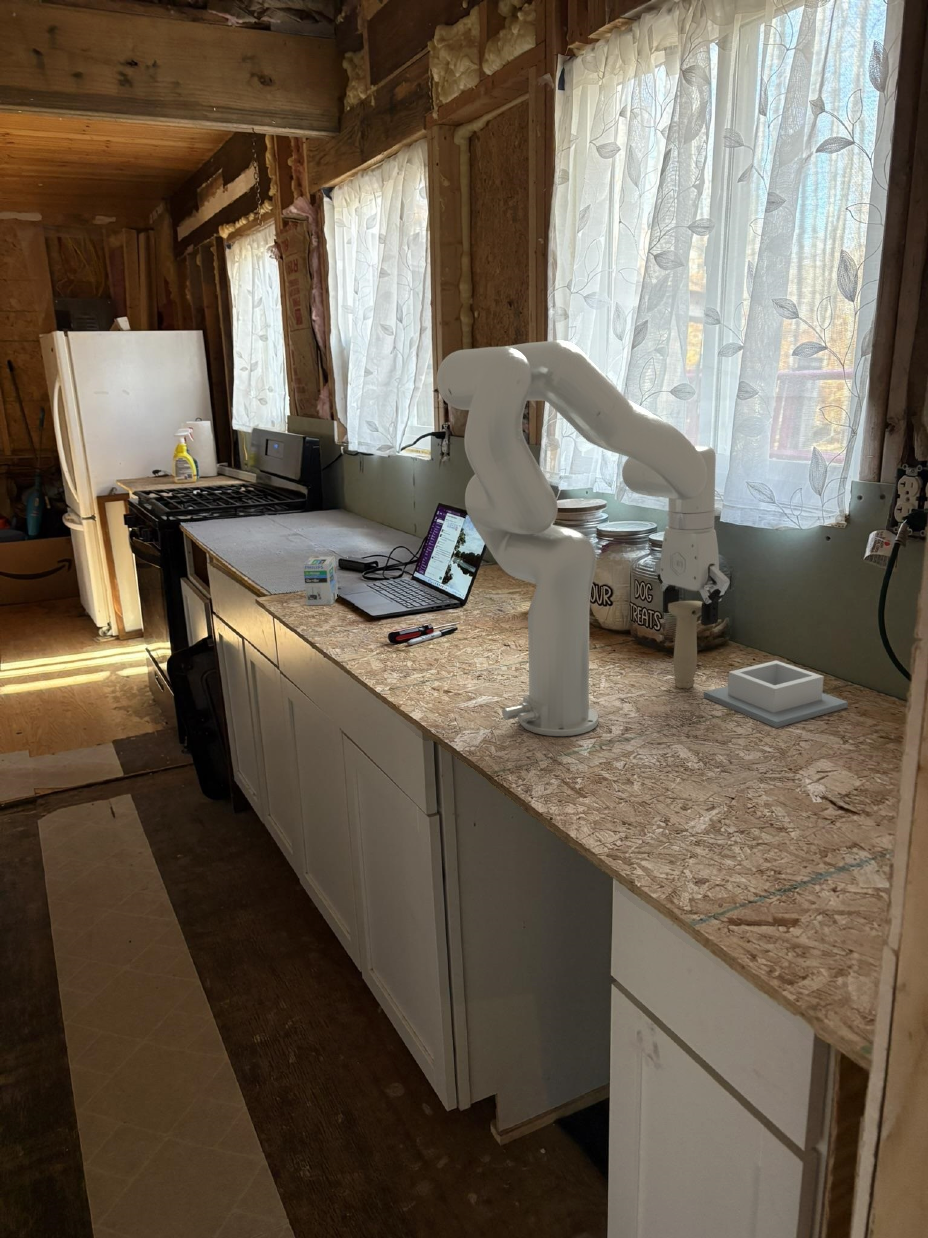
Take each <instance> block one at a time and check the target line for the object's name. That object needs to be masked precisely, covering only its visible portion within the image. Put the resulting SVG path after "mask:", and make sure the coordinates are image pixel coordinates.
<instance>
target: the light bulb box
mask: <svg viewBox="0 0 928 1238" xmlns="http://www.w3.org/2000/svg"><path fill="white" fill-rule="evenodd" d="M337 574H338V573H337V562H336V556H335V555H332V556H325V555H324V556H322V555H321V556H314V555H313V556H309V558H308V559H307V560H306V561H305V562H304V563H303V576H304V578H303V579H304V587H305V589H304V590H305V601H306V606H332V605H333V604H334V603H335V601H336V599H337V598H338V597H337V594H338V595H339V588H338V587H339V586H338V577H337V576H338V575H337Z"/></svg>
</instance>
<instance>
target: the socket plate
mask: <svg viewBox="0 0 928 1238" xmlns="http://www.w3.org/2000/svg"><path fill="white" fill-rule="evenodd" d="M824 677H825V676H824V675H820V674H819V673H818V674H817V673H815V672H812V671H809V670H806V669H803V668H799V667H797V666H794V665H792V664H788V663H786V662H782V661H779V660H773V661H768V662H764V663H760V664H755V665H751V666H748V667H744V668H740V669H735V670H731V671H728V679H727V682H728V684H727V685H726V686H722V687H718V688H714V689H710V690H705V691H704V692H703V698H704V699H707V700H709V701H710V702H713V703H716V704H718V705H721V706H724V707H726V708H727V709H729V710H730V709H731V710H733V711H734V712H735V711H736V712H737V713H740V714H743V715H744V716H747V717H750V718H752V719H754V720H757V721H759V722H761V723H764V724H765V725H768V726H771V727H773V728H776V729H778V728H780V727H784V726H787V725H791V724H795V723H799V722H802V721H805V720H808V719H812V718H816V717H819V716H823V715H826V714H829V713H832V712H833V713H834V712H836V711H841V710H844V709H847V708H848V704H849V703H848V701H847V700H843V699H841V698H838V697H835V696H832V695H829V694H828V693H827V694H826V693H825V692H823V689H824Z"/></svg>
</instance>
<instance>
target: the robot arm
mask: <svg viewBox="0 0 928 1238" xmlns="http://www.w3.org/2000/svg"><path fill="white" fill-rule="evenodd" d="M436 388H437V391H438V393H439V395H440V396H441V398H442V399H443V400H444V401H445V403H446V404H447V405H450V406H451V407H452V408H455V409H458V410H463V411H468V413H467V419H466V426H465V431H464V451H465V453H466V454H465V455H466V458H467V460H468V463H469V465H470V467H471V469H472V470H473V473H474V475H473V476H472V477H471V478H470V480H469V481H468V483H467V486H466V489H465V493H464V503H465V504H464V505H465V509H466V513H467V517H468V518H469V520H470V522H471V523H472V525H473V527H474V528H475V530H476V532H477V533H478V535H479V536H480V538H481V540H482V541H483V543H484V544H485V546H486V547H487V549H488V551H489V552H490V554H491V555H492V557H493V559H494V560H495V561H496V563H497V564H498V565H499V566H500V568H501V569H502V570H503V571H504V572H505V573H506V574H508V575H509V576H511V577H513V578H514V579H517V580H521V581H523V582H524V581H525V582H528V583H530V584H533V585H536V586H535V591H534V594H533V597H532V600H531V602H530V604H529V607H528V611H527V615H528V616H527V633H528V635H527V636H528V640H527V641H528V642H527V643H528V694H527V695H523V696H522V702H519V704H518V705H515V706H514V705H512V706H507V707H504V708H503V709H502V711H501V713H502V718H503V719H504V720H505V721H509V720H512V719H513V720H514V719H517V720H518V721H519V723H520V725H521V726H522V727H523V728H524V729H525V730H527V731H529V732H532V733H534V734H539V735H544V736H549V737H570V736H578V735H581V734H585V733H588V732H591V731H592V730H593V729H595V728H596V727H597V726H598V724H599V714H598V712H597V711H596V710H595V709H593V708H592V707H590V706H589V705H590V704H589V703H590V702H589V701H590V699H589V698H590V605H591V595H592V594H591V593H592V587H593V582H594V578H595V573H596V569H597V567H596V566H597V554H596V550H595V547H594V545H593V543H592V541H590V539H589V538H588V537H587V536H586V535H584V534H583V533H582V532H579V531H578V530H576V529H572V528H569V527H565V526H559V525H555V524H554V523H555V521H556V519H557V516H558V511H559V510H558V508H559V507H558V500H557V498H556V494H555V492H554V490H553V489H552V487H551V484H550V483H549V481H548V479H547V477H546V476H545V474H544V473H543V471H542V469H541V467H540V465H539V464H538V462H537V460H536V458H535V457H534V455H533V453H532V451H531V450H530V447H529V445H528V442H527V441H526V439H525V436H524V431H523V417H524V412H525V408H526V404H527V401H532V402H533V401H536V402H537V401H541V402H542V401H544V402H546V403H547V404H549V405H550V407H552V408H553V409H554V410H555V411H556V412H557V413H558V414H559V415H560V416H561V417H562V418H563V419H565V420H566V421H567V423H568V424H570V426H571V427H572V428H573V429H574V430H576V431H577V432H578V433H579V435H580V436H581V437H582V438H583V439H584V440H586V441H587V442H588V443H590V444H592V445H594V446H597V447H599V448H600V449H603V450H606V451H608V452H612V453H615V454H619V455H620V456H621V455H622V456H624V457H627V459H626V460H625V462H624V464H623V466H622V470H621V475H622V481H623V483H624V485H625V486H626V487H627V488H628V490H630V491H631V492H633V493H635V494H637V495H642V496H647V497H648V496H649V497H656V498H666V499H668V512H667V517H668V520H667V521H668V523H667V525H668V526H666V527H665V529H664V533H663V538H662V546H661V555H660V560H659V561H657V562H655V563H654V568H655V571H656V574H657V577H656V578H657V580H658V582H659V583H660V590H661V591H662V613H664V614H669V613H670V612H669V611H668V604H669V603H673V602H678V601H680V589H684V590H687V591H691V592H697V591H698V592H699V594H701V598H702V599H703V603H702V609H701V615H700V616H701V617H700V619H701V621H700V623H701V626H703V627H707V626H711V625H714V624H717V623H718V622H719V602H720V601H722V598H723V597H724V596H725V595H726V593H727V589H728V587H729V585H730V584H731V583H730V582H731V581H730V579H729V578H728V577H727V576H726V575H725V574H724V573H723V572H722V571H721V570H720V559H719V558H720V557H719V544H718V537H717V531H716V530H715V505H716V504H715V503H716V500H715V498H716V467H717V466H716V465H717V464H716V463H717V462H716V460H717V459H716V452H715V450H714V449H713V448H712V447H711V446H708V445H702V444H701V445H697V444H696V445H695V444H694V445H693V444H692V442H691V441H690V439H688V438H687V437H686V436H685V435H684V434H683V433H682V432H681V431H680V430H678V429H677V428H676V427H675V426H673V425H672V424H670V423H669V422H667V421H665V420H663V419H662V418H660V417H659V416H657V415H655V414H653V413H651V412H650V411H648V410H647V409H645V408H643V407H642V406H640V405H638V404H636V403H634V402H632V401H631V400H629V399H628V398H626V397H625V395H624V394H622V392H621V391H620V390H619V389H618V388H617V387H616V385H614V384H613V382H611V381H610V380H609V379H608V378H607V377H606V375H605V374H604V373H603V372H602V371H601V370H600V368H598V366H597V365H595V363H593V361H592V360H591V359H590V358H589V357H588V356H587V355H586V353H584V352H583V351H582V350H581V349H580V348H579V347H578V346H577V345H575V344H574V343H572V342H570V341H567V340H548V341H538V342H537V341H536V342H526V343H518V344H513V345H505V346H488V347H480V348H468V349H459V350H456V351H453V352H451V353H450V354H448V355H447V356H446V357H445V358H444V359H443V360H442V361H441V363H440V365H439V366H438V370H437V373H436ZM679 588H680V589H679ZM709 591H710V593H709ZM670 614H671V613H670Z"/></svg>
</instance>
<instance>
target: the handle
mask: <svg viewBox="0 0 928 1238" xmlns="http://www.w3.org/2000/svg"><path fill="white" fill-rule="evenodd" d="M702 603H704V601H699V600H679V601H678V602H673V603H669V604H668V611H669V612H670V614H671V615H672V616H674V617H675V618H676V628H675V638H674V639H675V640H674V648H673V650H674V651H673V674H674V685H675V687H678V689H688V690H689V689H690V688H693V687H694V685H695V676H696V671H697V664H698V663H697V662H698V646H697V645H698V644H697V643H698V640H697V622H698V617H699V616H701V609H702Z"/></svg>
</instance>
